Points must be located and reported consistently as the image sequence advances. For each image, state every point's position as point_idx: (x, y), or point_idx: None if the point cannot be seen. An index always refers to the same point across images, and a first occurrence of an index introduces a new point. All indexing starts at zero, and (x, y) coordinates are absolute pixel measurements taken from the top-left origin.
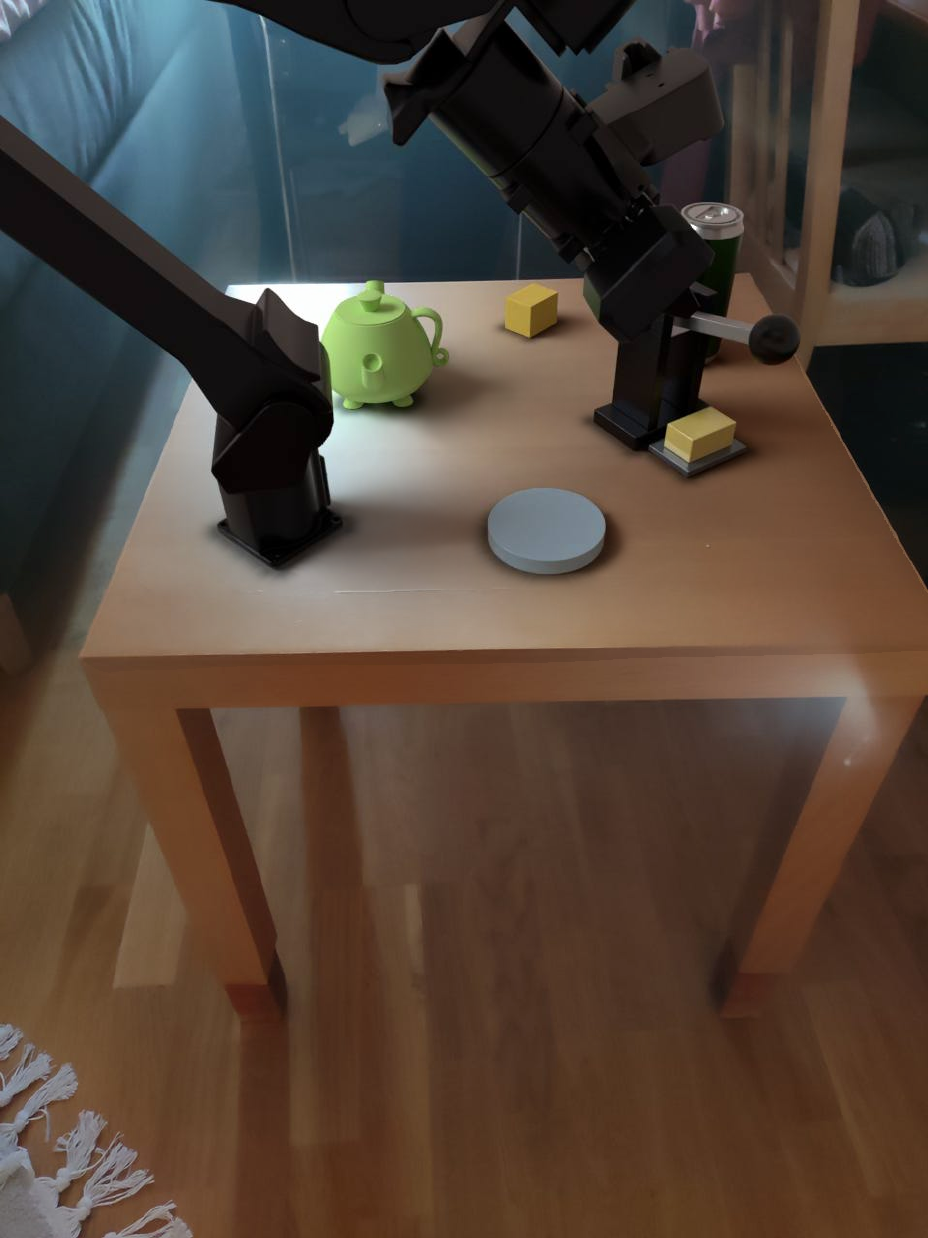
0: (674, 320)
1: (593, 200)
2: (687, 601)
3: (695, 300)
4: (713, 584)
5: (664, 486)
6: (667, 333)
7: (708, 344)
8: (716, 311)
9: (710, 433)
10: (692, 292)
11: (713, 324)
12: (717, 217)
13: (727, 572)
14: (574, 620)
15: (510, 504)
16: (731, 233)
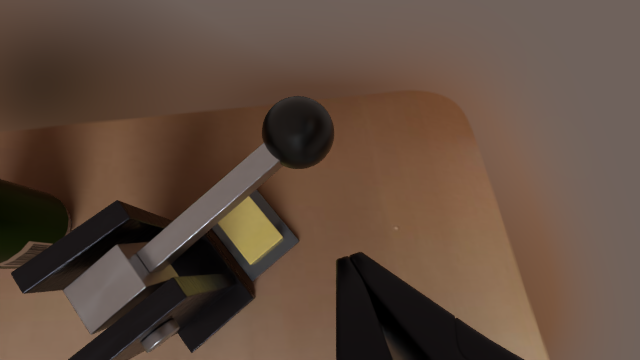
0: (159, 272)
1: None
2: (467, 248)
3: (376, 263)
4: (442, 226)
5: (315, 264)
6: (194, 283)
7: (52, 207)
8: (12, 195)
9: (267, 218)
10: (393, 274)
11: (221, 214)
12: None
13: (426, 214)
14: (515, 345)
15: None
16: None
